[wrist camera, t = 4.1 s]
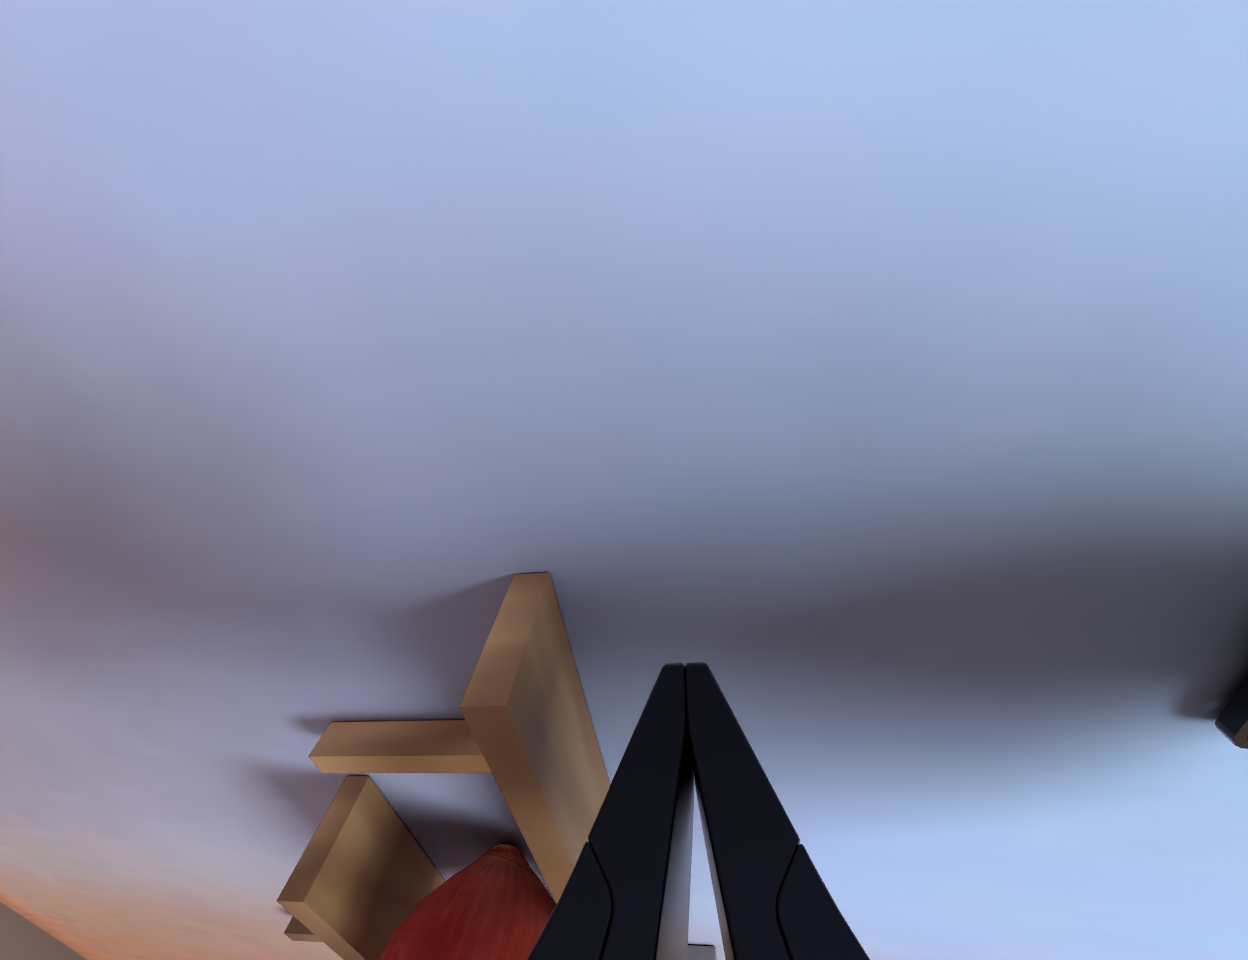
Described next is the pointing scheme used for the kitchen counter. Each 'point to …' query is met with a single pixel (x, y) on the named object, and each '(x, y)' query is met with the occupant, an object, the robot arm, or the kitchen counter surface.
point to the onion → (477, 913)
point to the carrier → (482, 743)
